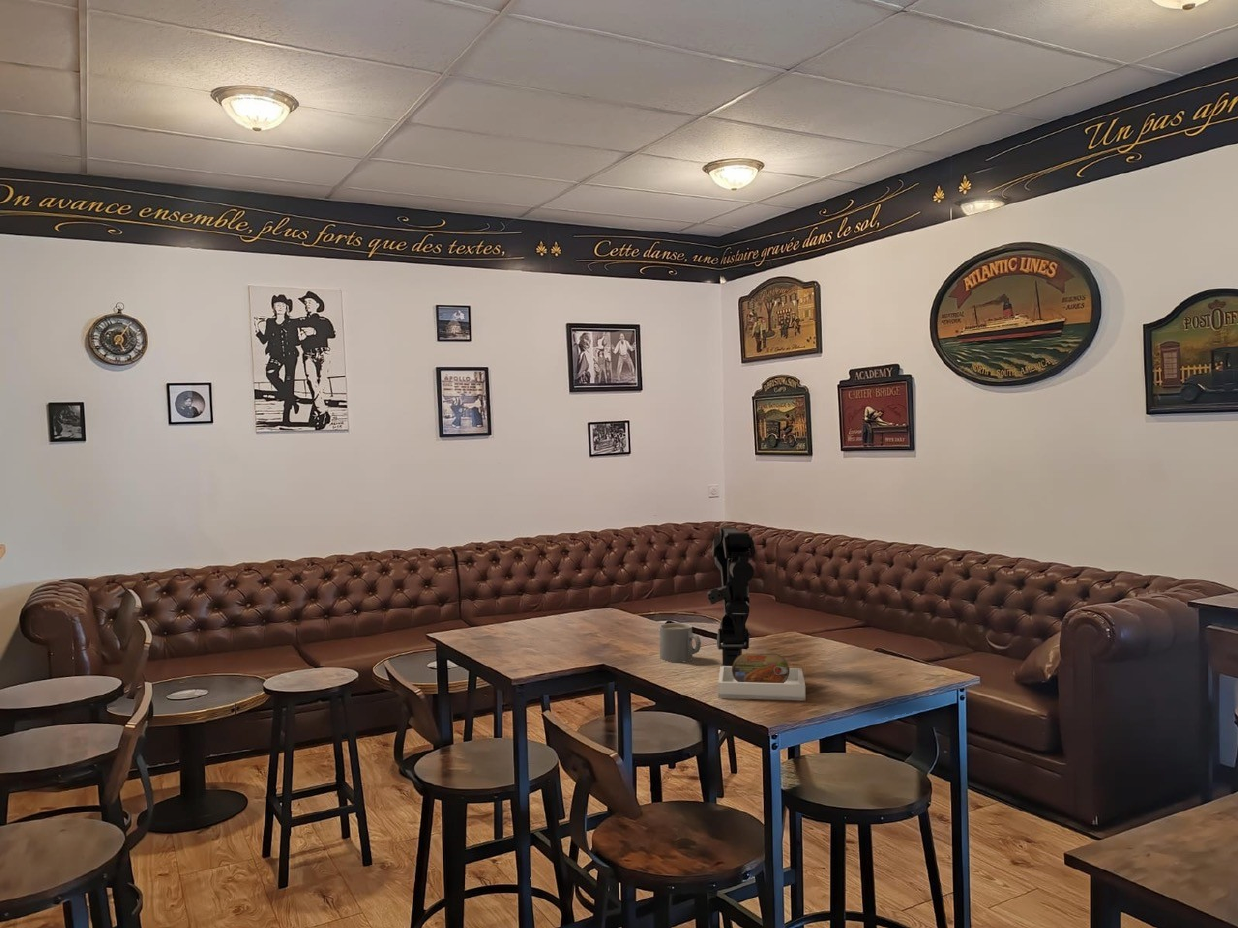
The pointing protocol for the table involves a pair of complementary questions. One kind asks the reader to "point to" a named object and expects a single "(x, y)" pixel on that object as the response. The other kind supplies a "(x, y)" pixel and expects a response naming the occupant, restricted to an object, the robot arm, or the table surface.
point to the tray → (761, 687)
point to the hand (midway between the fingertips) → (738, 633)
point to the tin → (760, 668)
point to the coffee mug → (677, 642)
